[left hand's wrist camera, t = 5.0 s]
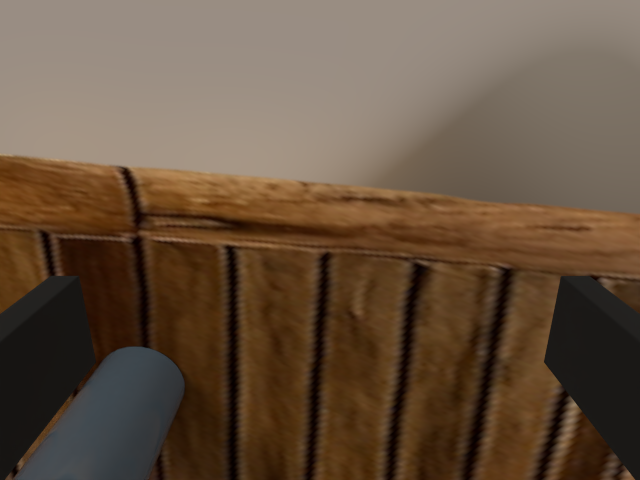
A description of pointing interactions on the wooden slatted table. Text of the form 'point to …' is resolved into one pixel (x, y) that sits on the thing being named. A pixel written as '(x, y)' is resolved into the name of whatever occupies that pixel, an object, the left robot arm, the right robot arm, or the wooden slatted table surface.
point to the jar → (112, 421)
